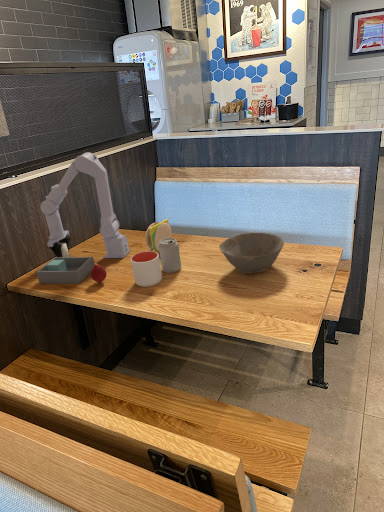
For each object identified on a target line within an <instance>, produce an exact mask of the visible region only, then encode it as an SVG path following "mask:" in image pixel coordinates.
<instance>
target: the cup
mask: <svg viewBox="0 0 384 512" xmlns="http://www.w3.org/2000/svg"><path fill="white" fill-rule="evenodd" d="M130 263H131V268H132V274H133V279H134V283H135V284H136V286H139V287H145V288H146V287H147V288H148V287H153V286H155V285H158V284H159V283H160V282H161V281H162V278H163V273H162V266H161V260H160V254H159V253H156V252H153V251H149V250H148V251H147V250H145V251H140V252H138V253H136V254H133V255H132V256H131V257H130Z"/></svg>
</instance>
